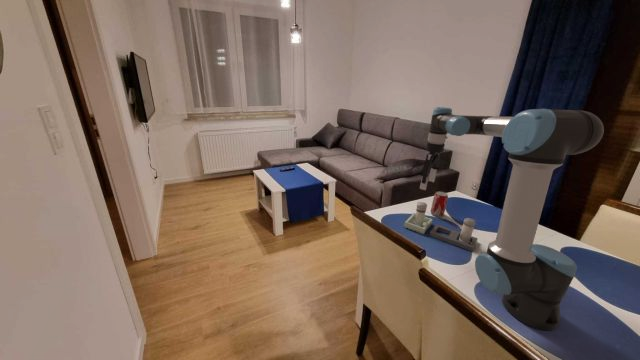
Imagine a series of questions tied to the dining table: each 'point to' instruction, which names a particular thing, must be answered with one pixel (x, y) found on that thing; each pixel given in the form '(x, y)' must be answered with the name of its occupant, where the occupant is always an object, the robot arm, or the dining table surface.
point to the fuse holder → (457, 235)
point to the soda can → (439, 203)
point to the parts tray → (410, 225)
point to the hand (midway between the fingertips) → (427, 185)
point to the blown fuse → (420, 214)
